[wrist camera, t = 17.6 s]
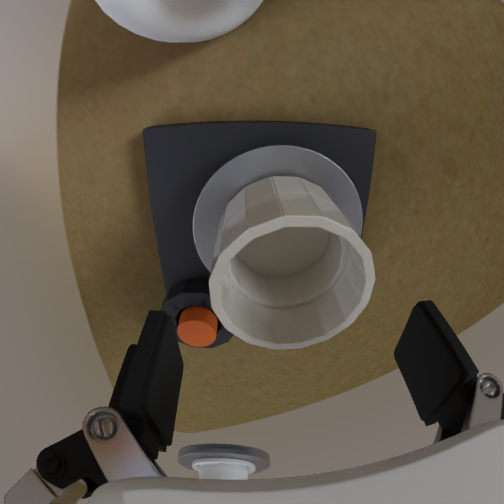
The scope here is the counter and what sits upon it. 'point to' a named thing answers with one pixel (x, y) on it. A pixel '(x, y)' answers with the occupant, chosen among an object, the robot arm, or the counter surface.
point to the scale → (204, 166)
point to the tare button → (197, 326)
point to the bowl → (288, 266)
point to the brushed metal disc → (258, 168)
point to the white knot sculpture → (179, 17)
